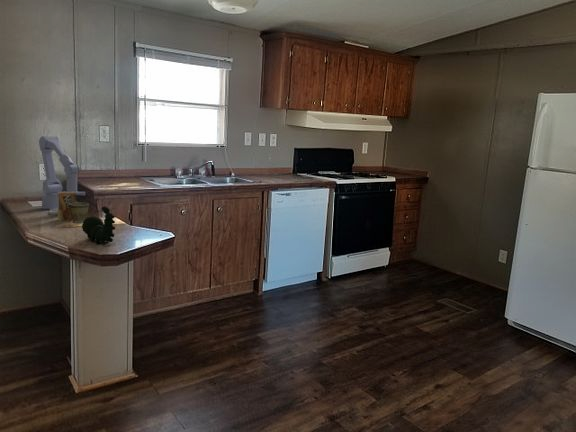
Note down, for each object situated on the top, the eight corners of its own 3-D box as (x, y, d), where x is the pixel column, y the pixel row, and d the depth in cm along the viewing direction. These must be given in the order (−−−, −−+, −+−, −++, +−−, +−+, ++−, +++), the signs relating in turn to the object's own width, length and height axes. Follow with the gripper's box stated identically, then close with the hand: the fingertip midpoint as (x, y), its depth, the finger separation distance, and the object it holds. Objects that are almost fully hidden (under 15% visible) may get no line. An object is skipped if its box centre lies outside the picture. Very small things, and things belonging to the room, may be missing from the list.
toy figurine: (120, 248, 214) (94, 233, 230) (121, 208, 210) (95, 196, 226) (100, 251, 208) (75, 235, 223) (101, 210, 203) (75, 197, 219)
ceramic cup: (81, 224, 250) (81, 206, 248) (65, 222, 252) (64, 204, 250) (96, 219, 263) (95, 202, 261) (80, 218, 264) (80, 201, 263)
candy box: (74, 218, 264) (73, 191, 261) (76, 219, 261) (75, 192, 258) (57, 219, 259) (56, 192, 256) (59, 220, 255) (58, 193, 252)
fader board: (49, 214, 270) (49, 211, 269) (49, 212, 277) (49, 209, 276) (87, 213, 279) (87, 210, 278) (86, 210, 286) (86, 208, 285)
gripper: (58, 185, 269) (58, 208, 271) (85, 185, 275) (85, 208, 278) (58, 183, 275) (58, 206, 278) (85, 184, 282) (85, 206, 284)
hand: (72, 207), depth 278 cm, fingers closed, pressing on fader knob
